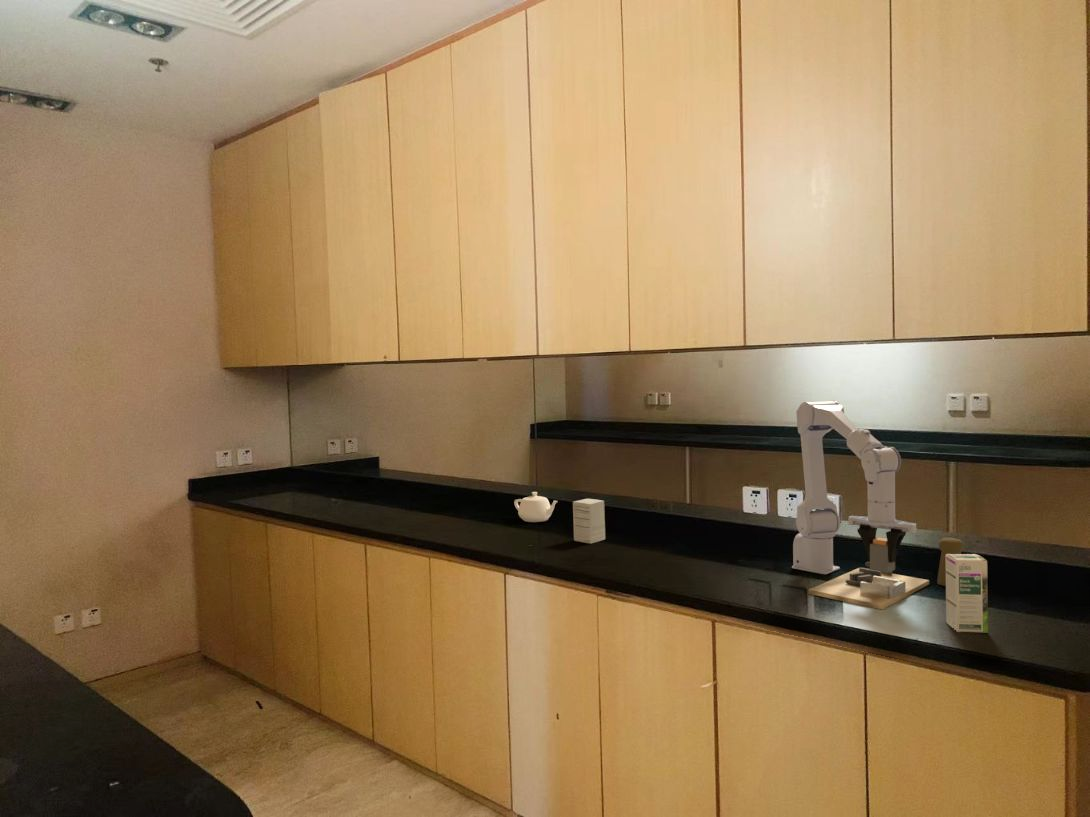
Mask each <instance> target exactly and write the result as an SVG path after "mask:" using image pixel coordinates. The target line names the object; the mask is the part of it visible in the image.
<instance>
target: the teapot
mask: <svg viewBox="0 0 1090 817" xmlns="http://www.w3.org/2000/svg"><path fill="white" fill-rule="evenodd" d="M531 494H532V495H530V496H527V497H523V498H522V499H521V498H518V499H514V502H513V503H514V506H515V509H516V510H517V511H518V512H517V514H518V516H519V518H520V519H522V520H523V521H524V522H528V523H538V522H539V523H541V522H546V521H548V520H549V518H550V517H551V516H552V514H553V511H554V509H555V505H556V504H557V503H558V500H553V502H552V503H551V504H550V501H549V499H548V498H547V497H545V496H541V495H538V492H537V491H532V492H531Z"/></svg>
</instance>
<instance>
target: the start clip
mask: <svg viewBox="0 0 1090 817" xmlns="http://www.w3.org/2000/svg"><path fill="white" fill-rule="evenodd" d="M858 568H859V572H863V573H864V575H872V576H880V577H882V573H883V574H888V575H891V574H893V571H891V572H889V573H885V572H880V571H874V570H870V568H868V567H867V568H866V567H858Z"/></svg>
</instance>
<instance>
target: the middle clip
mask: <svg viewBox="0 0 1090 817" xmlns="http://www.w3.org/2000/svg"><path fill="white" fill-rule="evenodd" d="M856 578H858V582H862V581H863V582H867V581H868V580H870V581H871V583H872V575H864V573H863V572H858V573H851V574H850V580H852V581H855V579H856Z"/></svg>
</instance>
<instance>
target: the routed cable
mask: <svg viewBox="0 0 1090 817" xmlns="http://www.w3.org/2000/svg"><path fill="white" fill-rule="evenodd" d="M872 580H873V576H872ZM867 582H868V583H871V581H870V580H868V581H867ZM846 583H847V584H850V585H855V586H860V582H858V578H856V579H855V581H852V580H846Z"/></svg>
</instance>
